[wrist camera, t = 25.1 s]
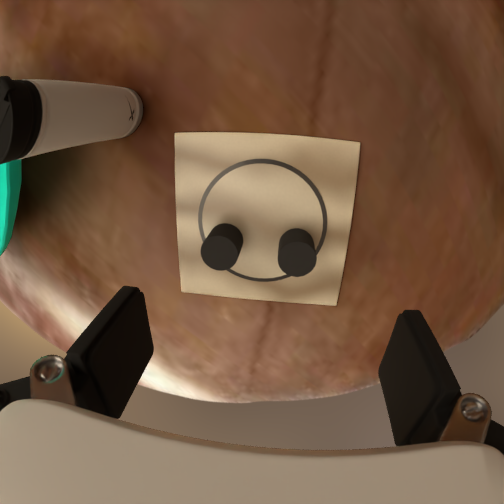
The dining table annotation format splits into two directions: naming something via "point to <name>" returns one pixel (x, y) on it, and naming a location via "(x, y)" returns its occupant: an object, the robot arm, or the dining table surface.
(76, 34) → the dining table surface
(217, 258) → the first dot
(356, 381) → the dining table surface
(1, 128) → the travel mug
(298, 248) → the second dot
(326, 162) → the drawing board
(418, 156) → the dining table surface
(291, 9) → the dining table surface
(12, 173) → the table top decor
